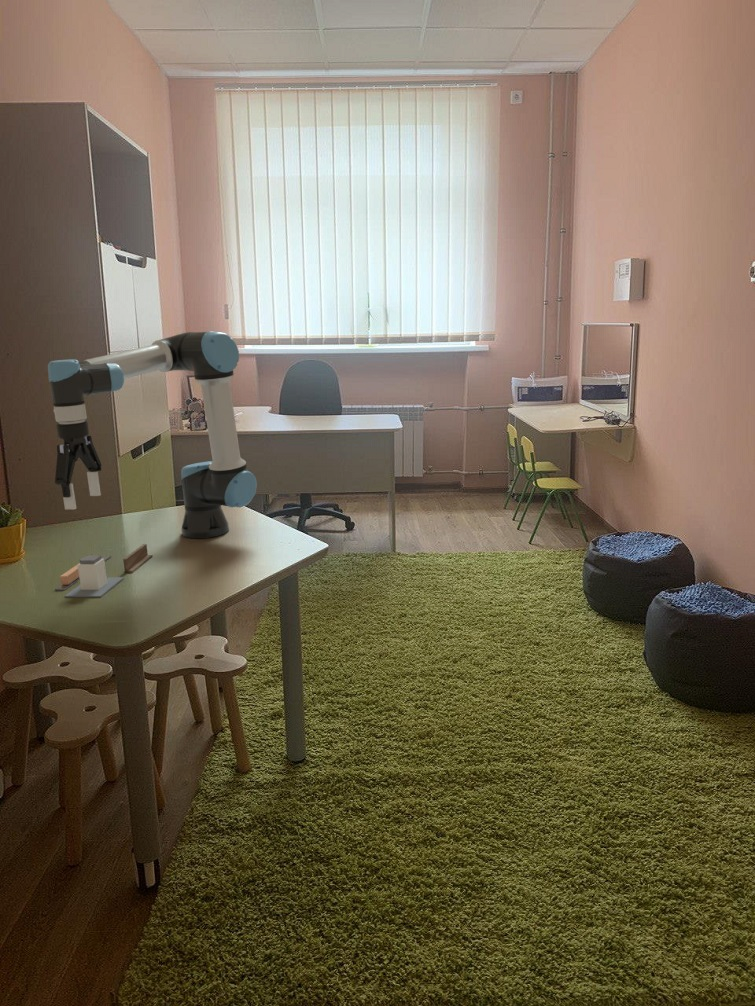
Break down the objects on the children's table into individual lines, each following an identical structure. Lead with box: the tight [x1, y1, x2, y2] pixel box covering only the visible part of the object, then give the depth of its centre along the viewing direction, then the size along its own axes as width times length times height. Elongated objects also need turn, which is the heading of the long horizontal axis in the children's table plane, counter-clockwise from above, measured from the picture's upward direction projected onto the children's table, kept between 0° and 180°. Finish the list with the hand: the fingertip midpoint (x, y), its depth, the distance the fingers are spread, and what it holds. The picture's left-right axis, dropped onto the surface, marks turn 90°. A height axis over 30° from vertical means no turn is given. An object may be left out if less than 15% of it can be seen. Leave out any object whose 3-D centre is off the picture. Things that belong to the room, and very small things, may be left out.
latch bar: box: [59, 557, 84, 585], centre depth 221 cm, size 2×12×4 cm, turn 173°
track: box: [54, 555, 112, 591], centre depth 227 cm, size 3×28×1 cm, turn 173°
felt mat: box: [64, 576, 125, 598], centre depth 214 cm, size 10×14×1 cm
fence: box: [122, 543, 153, 574], centre depth 231 cm, size 2×14×4 cm, turn 173°
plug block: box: [78, 555, 107, 590], centre depth 213 cm, size 5×5×8 cm
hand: (83, 502), depth 208 cm, fingers open, 13 cm apart
